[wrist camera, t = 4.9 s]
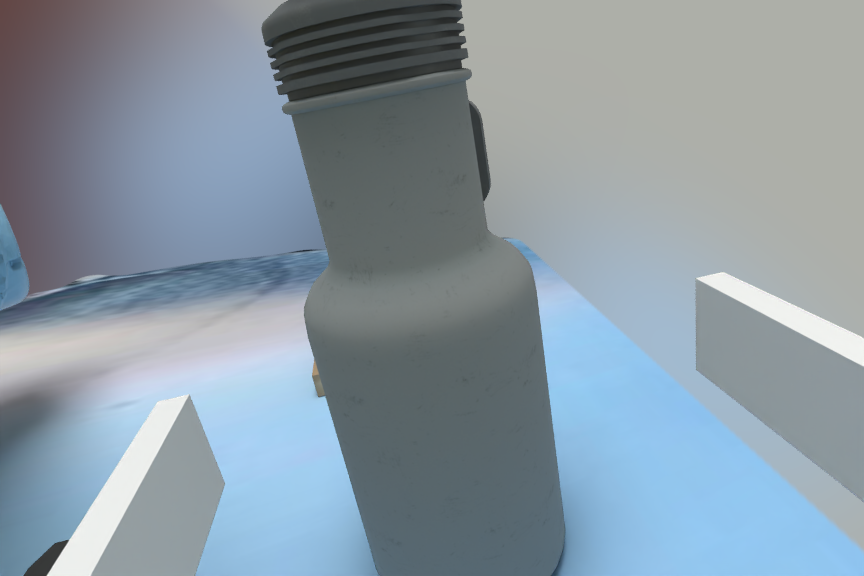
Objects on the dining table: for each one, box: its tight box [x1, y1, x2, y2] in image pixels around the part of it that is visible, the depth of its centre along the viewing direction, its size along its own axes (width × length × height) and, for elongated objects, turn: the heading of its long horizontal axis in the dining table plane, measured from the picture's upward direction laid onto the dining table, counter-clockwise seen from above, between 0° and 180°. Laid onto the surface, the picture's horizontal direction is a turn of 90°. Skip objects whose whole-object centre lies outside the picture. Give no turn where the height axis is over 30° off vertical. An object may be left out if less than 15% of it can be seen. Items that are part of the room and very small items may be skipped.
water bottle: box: [262, 0, 565, 576], centre depth 23 cm, size 10×10×28 cm
